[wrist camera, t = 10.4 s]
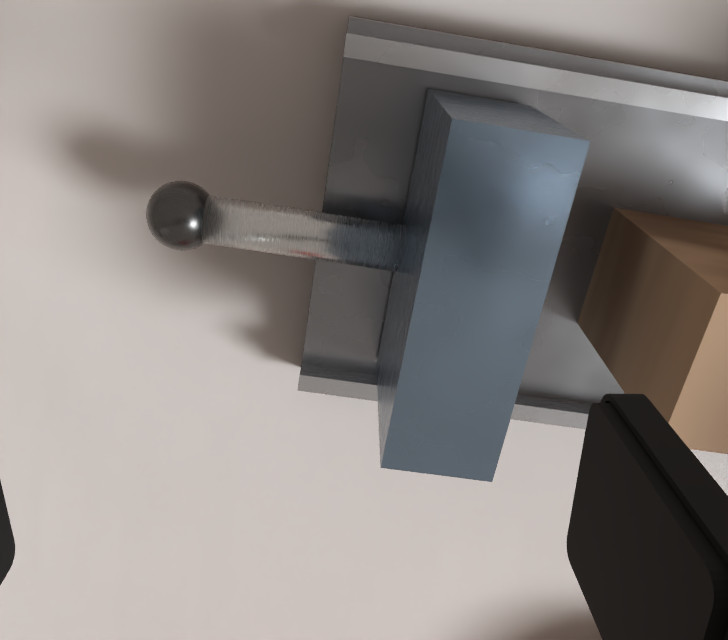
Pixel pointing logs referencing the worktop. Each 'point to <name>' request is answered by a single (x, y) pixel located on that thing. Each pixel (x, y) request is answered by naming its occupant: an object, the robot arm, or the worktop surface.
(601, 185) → the vise bed
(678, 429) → the walnut block
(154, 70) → the worktop surface
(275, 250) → the sliding jaw
